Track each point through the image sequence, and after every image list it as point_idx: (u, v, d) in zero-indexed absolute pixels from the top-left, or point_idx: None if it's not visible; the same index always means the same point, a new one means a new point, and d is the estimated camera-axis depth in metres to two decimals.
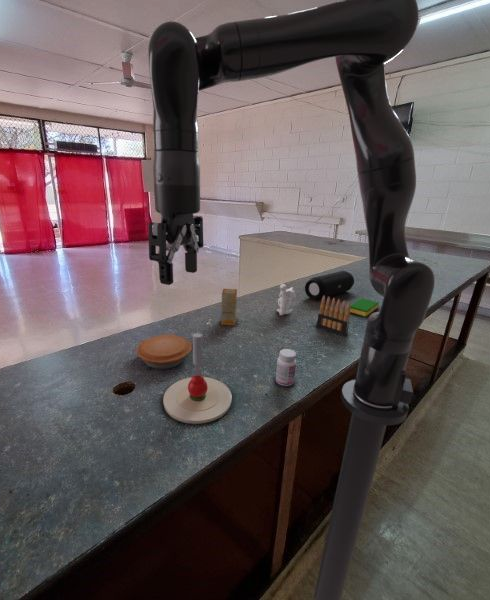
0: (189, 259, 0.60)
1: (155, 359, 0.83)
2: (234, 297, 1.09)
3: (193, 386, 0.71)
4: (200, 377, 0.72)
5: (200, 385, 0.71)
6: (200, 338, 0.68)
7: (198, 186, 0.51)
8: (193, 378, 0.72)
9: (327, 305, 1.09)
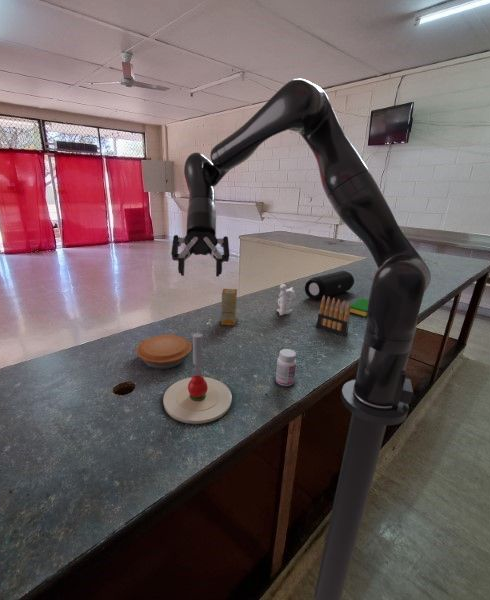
0: None
1: (155, 359, 0.83)
2: (234, 297, 1.09)
3: (193, 386, 0.71)
4: (200, 377, 0.72)
5: (200, 385, 0.71)
6: (200, 338, 0.68)
7: (203, 212, 0.79)
8: (193, 378, 0.72)
9: (327, 305, 1.09)
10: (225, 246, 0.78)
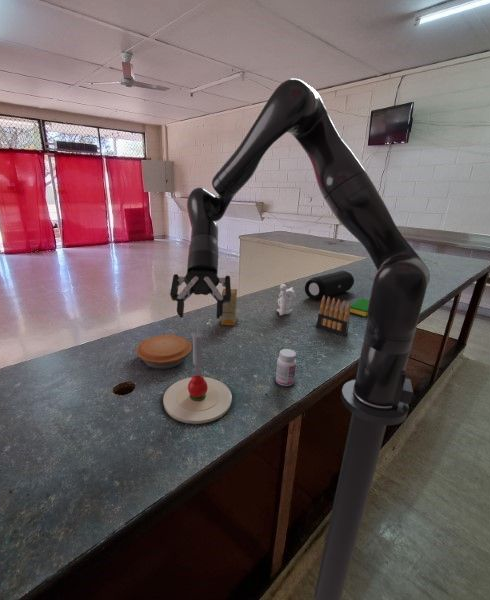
0: None
1: (155, 359, 0.83)
2: (234, 297, 1.09)
3: (193, 386, 0.71)
4: (200, 377, 0.72)
5: (200, 385, 0.71)
6: (200, 338, 0.68)
7: (204, 250, 0.76)
8: (193, 378, 0.72)
9: (327, 305, 1.09)
10: (227, 286, 0.75)
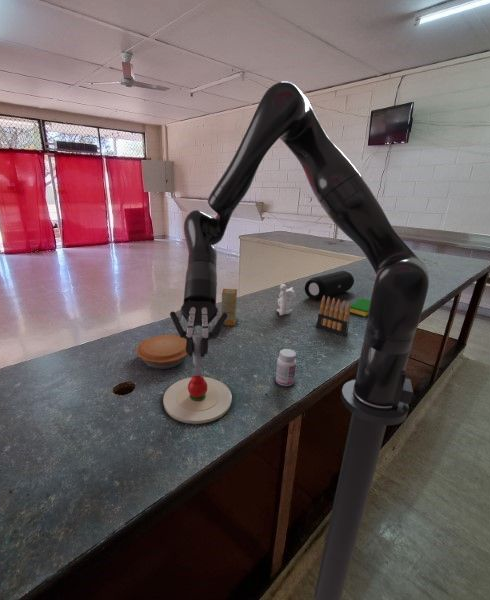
0: None
1: (155, 359, 0.83)
2: (234, 297, 1.09)
3: (193, 386, 0.71)
4: (200, 377, 0.72)
5: (200, 385, 0.71)
6: (200, 338, 0.68)
7: (201, 279, 0.71)
8: (193, 378, 0.72)
9: (327, 305, 1.09)
10: (218, 323, 0.70)
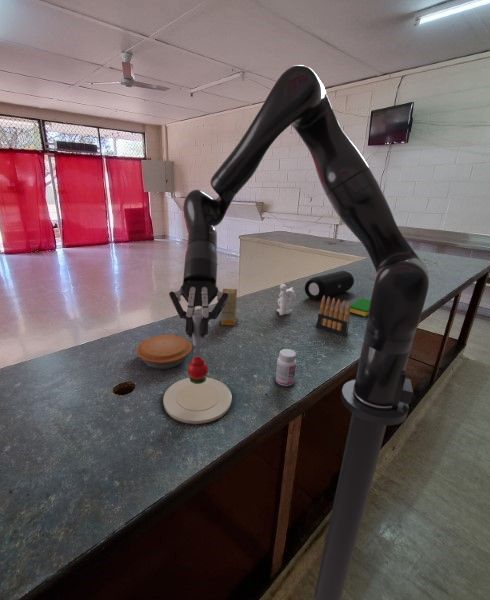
0: None
1: (155, 359, 0.83)
2: (234, 297, 1.09)
3: (193, 368, 0.69)
4: (200, 359, 0.70)
5: (200, 367, 0.69)
6: (200, 318, 0.66)
7: (201, 258, 0.70)
8: (193, 360, 0.70)
9: (327, 305, 1.09)
10: (218, 303, 0.68)
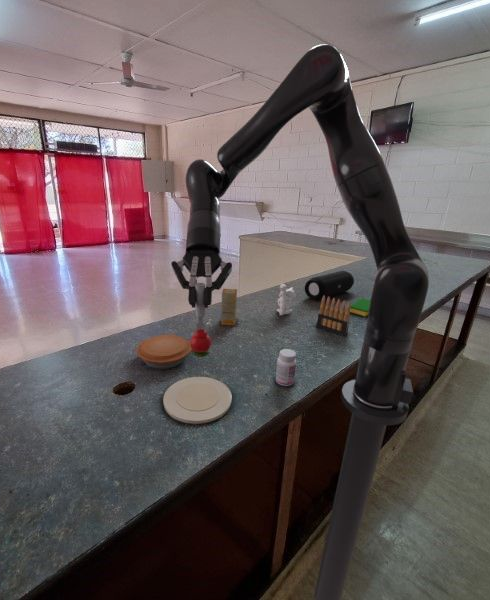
0: None
1: (155, 359, 0.83)
2: (234, 297, 1.09)
3: (196, 340, 0.67)
4: (203, 331, 0.68)
5: (203, 339, 0.67)
6: (203, 287, 0.64)
7: (204, 227, 0.67)
8: (196, 332, 0.68)
9: (327, 305, 1.09)
10: (222, 272, 0.66)
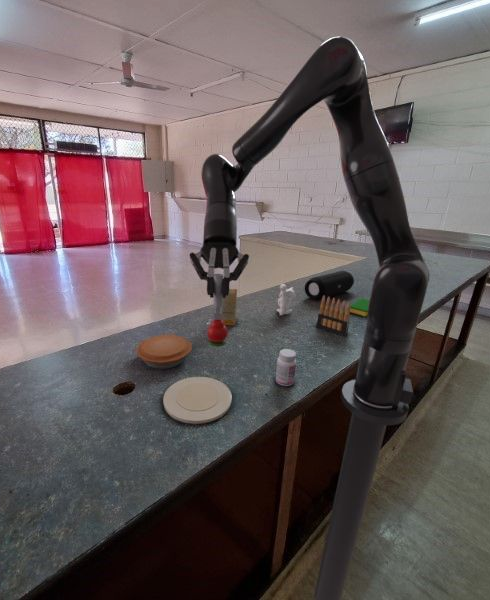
0: None
1: (155, 359, 0.83)
2: (234, 297, 1.09)
3: (213, 330, 0.69)
4: (220, 321, 0.69)
5: (220, 329, 0.69)
6: (221, 277, 0.66)
7: (222, 219, 0.69)
8: (213, 322, 0.69)
9: (327, 305, 1.09)
10: (239, 264, 0.67)
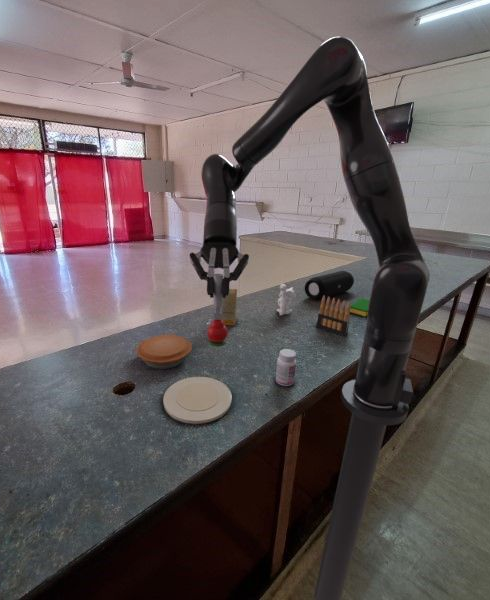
0: None
1: (155, 359, 0.83)
2: (234, 297, 1.09)
3: (213, 330, 0.69)
4: (220, 321, 0.69)
5: (220, 329, 0.69)
6: (221, 277, 0.66)
7: (222, 219, 0.69)
8: (213, 322, 0.69)
9: (327, 305, 1.09)
10: (239, 264, 0.67)
